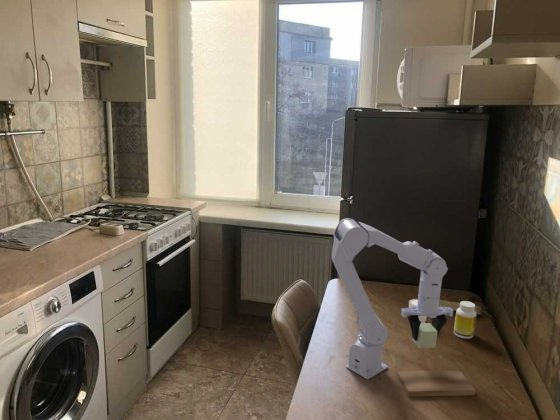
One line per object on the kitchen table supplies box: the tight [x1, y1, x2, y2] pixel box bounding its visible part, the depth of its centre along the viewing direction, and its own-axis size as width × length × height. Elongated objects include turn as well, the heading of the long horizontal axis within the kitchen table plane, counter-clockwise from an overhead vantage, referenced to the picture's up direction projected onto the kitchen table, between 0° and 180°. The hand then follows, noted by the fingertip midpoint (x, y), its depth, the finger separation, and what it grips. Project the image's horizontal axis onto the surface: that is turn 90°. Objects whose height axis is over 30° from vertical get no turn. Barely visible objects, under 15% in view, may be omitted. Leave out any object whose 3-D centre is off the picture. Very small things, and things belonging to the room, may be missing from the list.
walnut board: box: [396, 370, 476, 398], centre depth 126 cm, size 9×18×2 cm, turn 95°
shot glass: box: [408, 298, 428, 323], centre depth 162 cm, size 7×7×7 cm
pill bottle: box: [453, 300, 477, 340], centre depth 153 cm, size 6×6×11 cm
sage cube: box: [411, 322, 438, 349], centre depth 134 cm, size 5×5×5 cm
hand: (423, 338), depth 134 cm, fingers closed on sage cube, 5 cm apart
